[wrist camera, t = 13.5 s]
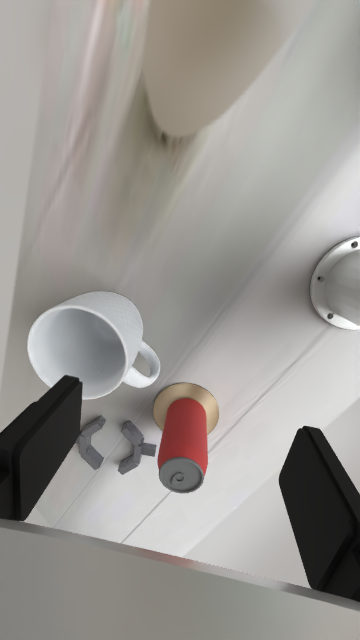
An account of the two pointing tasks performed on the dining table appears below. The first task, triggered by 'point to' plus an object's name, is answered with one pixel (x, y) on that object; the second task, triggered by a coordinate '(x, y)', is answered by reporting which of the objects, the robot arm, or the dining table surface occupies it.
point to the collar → (129, 432)
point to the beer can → (183, 447)
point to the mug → (91, 344)
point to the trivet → (189, 392)
